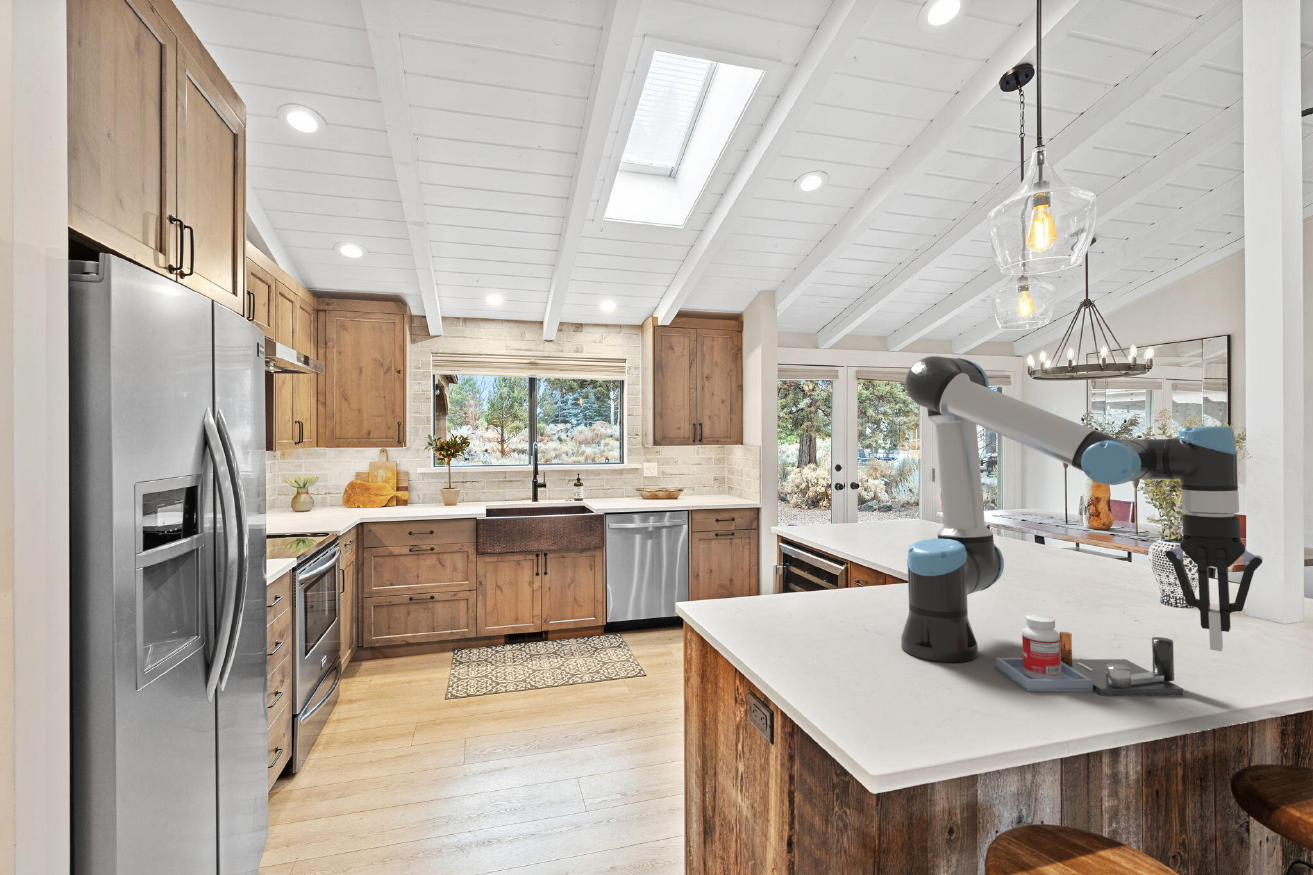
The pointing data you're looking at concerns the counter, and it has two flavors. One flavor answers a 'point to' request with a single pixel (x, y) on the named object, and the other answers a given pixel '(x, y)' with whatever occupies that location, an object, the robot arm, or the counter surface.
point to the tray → (1066, 683)
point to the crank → (1161, 672)
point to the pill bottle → (1041, 648)
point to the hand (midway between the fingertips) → (1216, 648)
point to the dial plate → (1097, 673)
